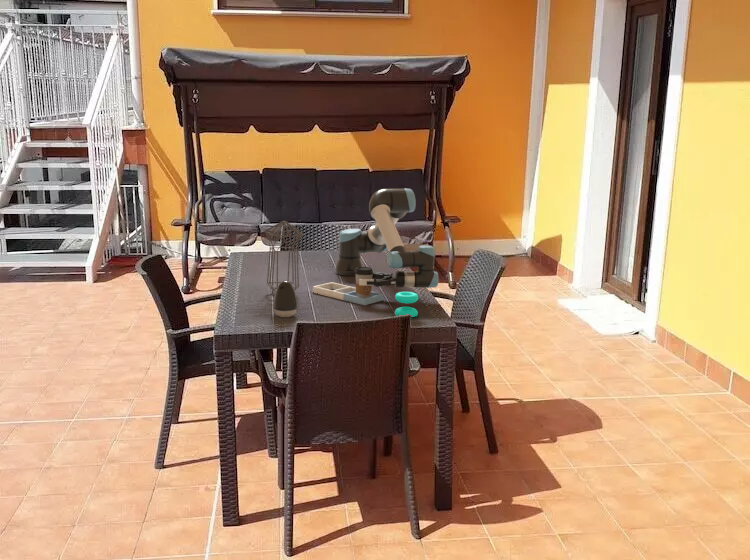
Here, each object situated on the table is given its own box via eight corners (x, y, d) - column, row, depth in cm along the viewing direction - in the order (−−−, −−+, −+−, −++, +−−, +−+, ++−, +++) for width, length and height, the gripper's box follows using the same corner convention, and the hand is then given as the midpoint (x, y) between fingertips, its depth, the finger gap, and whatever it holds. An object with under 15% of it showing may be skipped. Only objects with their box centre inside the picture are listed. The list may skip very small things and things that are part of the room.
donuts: (412, 290, 334) (422, 295, 325) (411, 312, 337) (421, 318, 328) (391, 291, 330) (401, 297, 321) (390, 314, 333) (400, 320, 324)
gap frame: (331, 288, 377) (331, 282, 376) (383, 300, 356) (383, 294, 355) (312, 292, 367) (312, 286, 366) (364, 305, 346) (364, 298, 345)
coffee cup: (359, 303, 350) (360, 270, 346) (351, 298, 357) (352, 267, 353) (375, 301, 353) (376, 269, 350) (367, 297, 361) (368, 266, 357)
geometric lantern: (262, 292, 365) (263, 219, 358) (294, 290, 371) (295, 218, 364) (271, 299, 351) (272, 223, 344) (304, 297, 357) (306, 223, 350)
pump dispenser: (268, 317, 323) (268, 282, 319) (280, 311, 332) (280, 277, 329) (290, 320, 319) (290, 284, 316) (301, 314, 329) (301, 279, 325)
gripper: (407, 293, 343) (359, 293, 341) (401, 281, 367) (357, 280, 365) (407, 277, 341) (359, 276, 339) (402, 265, 365) (357, 265, 364)
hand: (358, 278), depth 352 cm, fingers open, 13 cm apart
